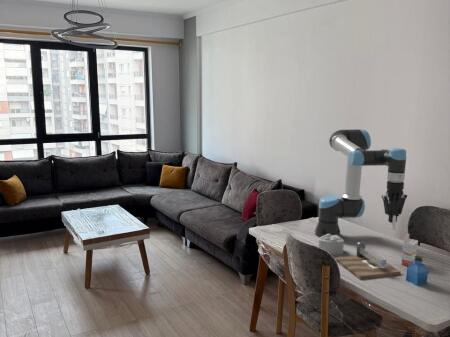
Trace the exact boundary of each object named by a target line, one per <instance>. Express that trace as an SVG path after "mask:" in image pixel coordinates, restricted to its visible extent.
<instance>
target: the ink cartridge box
mask: <svg viewBox="0 0 450 337" xmlns="http://www.w3.org/2000/svg"><path fill="white" fill-rule="evenodd" d="M418 244H419V240H417V239H413V238H412V239H411V238H410V233H407V234H406V235H405V236H404V239H403V244H402V257H401V265H403V266H406V267H408V266H409V265H410V264H411V263H414V259H415V256H418V255H417V254H418Z"/></svg>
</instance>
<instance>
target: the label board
mask: <svg viewBox="0 0 450 337" xmlns="http://www.w3.org/2000/svg"><path fill="white" fill-rule="evenodd" d="M335 259H336V261H337V262H336V261H335V262H336V263H337V264H339V265H340V266H341V267H343V268H344V269H345V270H347V271H348V272H349V273H350V274H352V275H353V276H354V277H355V278H357V279H358V280H365V279H375V278H382V277H383V278H384V277H391V276H399V275H401V272H402V271H400V270H399V269H398V268H395V267H394V266H393V265H391V264H390V263H388V262H386V266H381V267H380V266H379V265H377V264H376V263H374V262H373V261H371V260H370V259H368V258H367V257H365V256H364V257H359V256H357V254H355V255H348V256H347V255H346V256H338V257H334V260H335Z"/></svg>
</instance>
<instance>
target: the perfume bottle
mask: <svg viewBox="0 0 450 337" xmlns="http://www.w3.org/2000/svg"><path fill="white" fill-rule="evenodd" d="M428 275H429V270H428V268H427V266H426V264H423V256H420V255H416V256H415V259H414V263H411V264H410V265H409V266H406V275H405V281H406V282H409V283H410V282H411V283H410V284H412V283H413V284H412V285H414V286H416V287H418V286H421V285H422V284H423V285H426V284H428Z"/></svg>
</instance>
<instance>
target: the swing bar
mask: <svg viewBox="0 0 450 337" xmlns="http://www.w3.org/2000/svg"><path fill="white" fill-rule="evenodd" d="M356 255H357V256H359V257H364V256H365V257H367V258H368V259H370V260H371V261H373V262H374V263H376V264H377V265H379V266H380V267H381V266H386V263H387V259H385V258H384V257H382V256H381V255H379V254H377V252H374V251H373V250H371V249H370V248H368V247H366V242H365V241H362V240H361V241H358V240H357V242H356Z"/></svg>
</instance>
